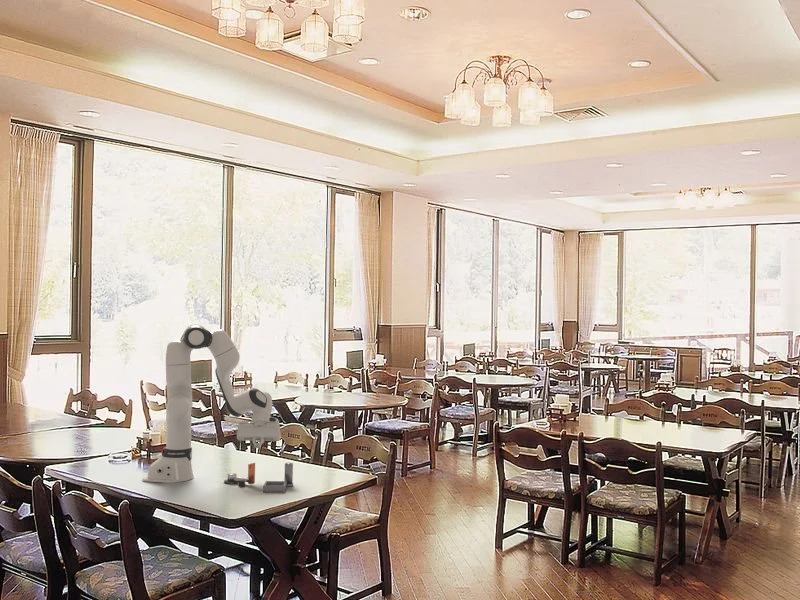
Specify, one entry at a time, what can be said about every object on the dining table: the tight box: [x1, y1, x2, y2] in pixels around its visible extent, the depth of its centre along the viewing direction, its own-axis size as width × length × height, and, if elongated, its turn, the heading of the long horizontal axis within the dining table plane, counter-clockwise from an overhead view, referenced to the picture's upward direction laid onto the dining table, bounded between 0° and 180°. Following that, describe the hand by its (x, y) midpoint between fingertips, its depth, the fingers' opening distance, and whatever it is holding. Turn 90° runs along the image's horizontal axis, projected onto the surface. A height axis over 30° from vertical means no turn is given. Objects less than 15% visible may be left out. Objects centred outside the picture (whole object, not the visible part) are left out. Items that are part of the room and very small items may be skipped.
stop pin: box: [283, 462, 294, 488], centre depth 341 cm, size 4×4×10 cm
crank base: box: [223, 479, 239, 485], centre depth 345 cm, size 7×7×1 cm
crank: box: [226, 462, 256, 485], centre depth 342 cm, size 14×4×9 cm, turn 63°
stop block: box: [238, 480, 246, 488], centre depth 338 cm, size 2×2×2 cm
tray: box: [262, 480, 288, 494], centre depth 332 cm, size 9×9×3 cm
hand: (257, 447), depth 350 cm, fingers closed
